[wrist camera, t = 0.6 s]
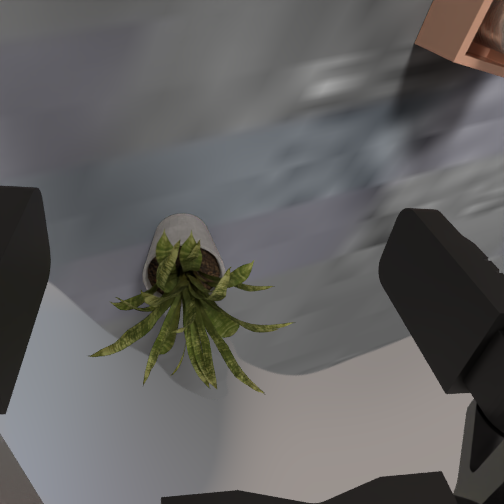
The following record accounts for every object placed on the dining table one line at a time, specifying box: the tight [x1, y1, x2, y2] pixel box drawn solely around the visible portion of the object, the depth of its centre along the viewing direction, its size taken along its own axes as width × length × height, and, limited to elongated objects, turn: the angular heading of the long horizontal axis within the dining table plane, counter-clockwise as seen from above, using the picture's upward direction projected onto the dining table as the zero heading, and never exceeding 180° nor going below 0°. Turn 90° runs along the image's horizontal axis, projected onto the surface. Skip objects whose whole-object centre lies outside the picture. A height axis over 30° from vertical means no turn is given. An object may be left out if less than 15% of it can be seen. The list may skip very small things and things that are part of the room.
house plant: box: [90, 214, 296, 393], centre depth 37 cm, size 14×14×16 cm
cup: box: [414, 0, 504, 77], centre depth 32 cm, size 7×7×6 cm
